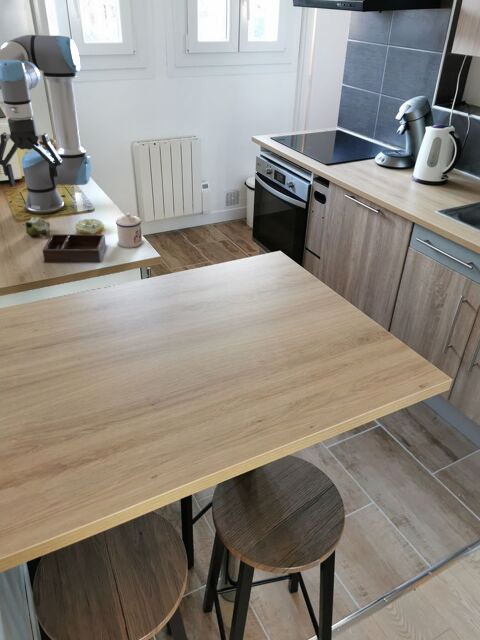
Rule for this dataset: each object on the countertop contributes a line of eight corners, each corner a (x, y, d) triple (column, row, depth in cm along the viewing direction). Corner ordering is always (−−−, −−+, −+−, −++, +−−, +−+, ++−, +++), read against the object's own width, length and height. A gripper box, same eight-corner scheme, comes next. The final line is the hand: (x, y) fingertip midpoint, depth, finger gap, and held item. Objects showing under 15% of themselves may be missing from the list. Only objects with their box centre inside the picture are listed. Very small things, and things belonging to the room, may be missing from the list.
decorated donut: (96, 238, 196) (95, 229, 194) (71, 234, 198) (69, 225, 196) (109, 227, 204) (107, 219, 202) (84, 224, 206) (83, 215, 204)
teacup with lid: (138, 249, 189) (136, 219, 183) (114, 247, 190) (111, 217, 184) (147, 235, 199) (145, 207, 193) (125, 233, 200) (122, 205, 194)
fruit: (31, 244, 193) (22, 224, 188) (28, 236, 200) (19, 217, 196) (55, 236, 195) (47, 216, 191) (51, 228, 203) (43, 209, 198)
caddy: (53, 245, 190) (51, 234, 187) (105, 245, 191) (104, 234, 188) (44, 262, 179) (42, 250, 176) (100, 262, 180) (98, 250, 178)
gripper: (-27, 119, 152) (-10, 189, 164) (59, 121, 153) (70, 190, 165) (-17, 113, 158) (-1, 181, 170) (65, 115, 159) (75, 182, 171)
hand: (34, 185), depth 168 cm, fingers open, 13 cm apart
